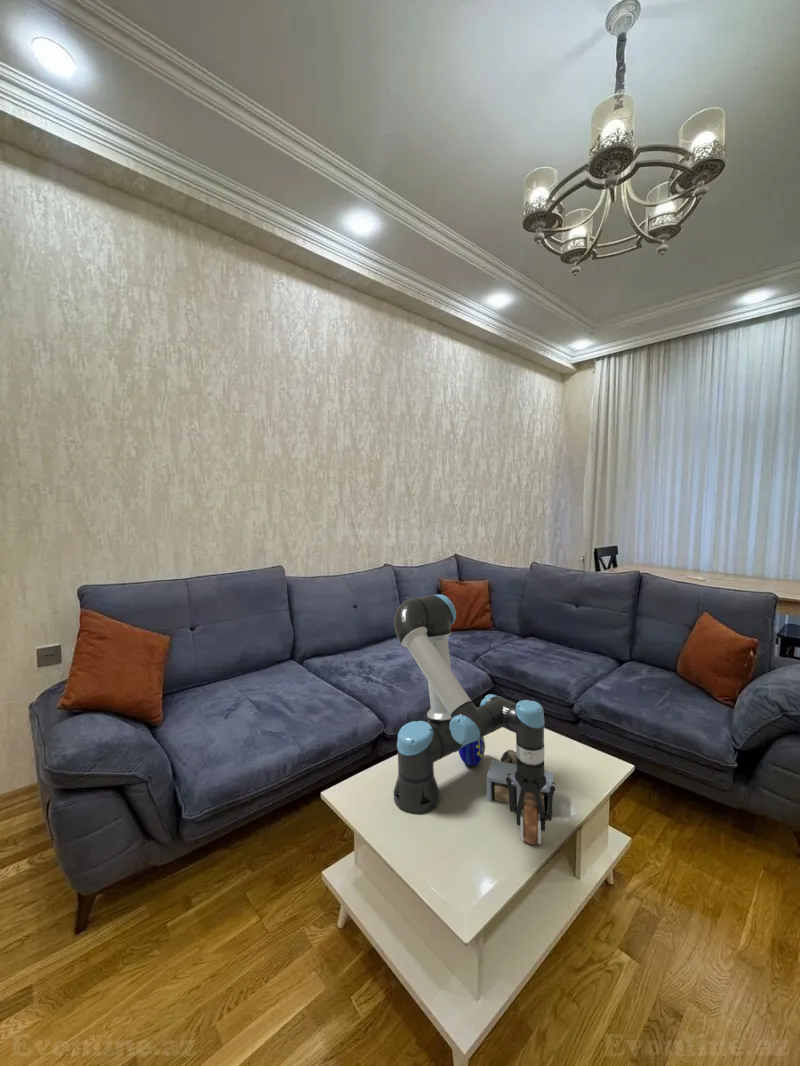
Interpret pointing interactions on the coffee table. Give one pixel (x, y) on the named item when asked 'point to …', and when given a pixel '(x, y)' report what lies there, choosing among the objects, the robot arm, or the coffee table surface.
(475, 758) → the ornament
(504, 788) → the oak block
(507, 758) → the stone
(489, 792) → the cubby shelf
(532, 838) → the tethered block
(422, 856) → the coffee table surface
